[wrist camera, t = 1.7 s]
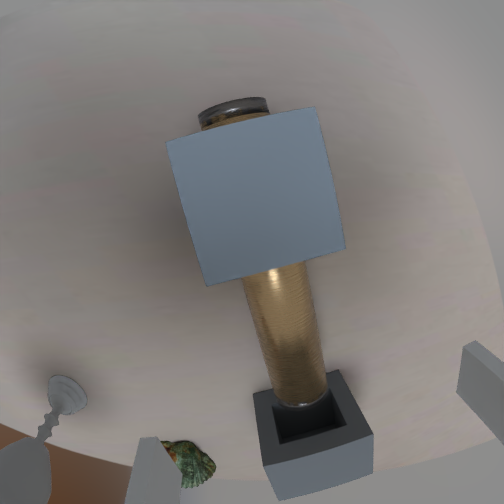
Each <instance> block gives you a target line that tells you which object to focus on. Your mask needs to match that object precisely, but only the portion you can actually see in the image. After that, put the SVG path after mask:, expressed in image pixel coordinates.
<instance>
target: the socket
mask: <svg viewBox="0 0 504 504" xmlns="http://www.w3.org/2000/svg"><path fill="white" fill-rule="evenodd" d="M326 379H327V385H328V394H327V396H326V398H325V399H324V400H323V401H322V402H321V403H320V404H319V405H317V406H315V407H313V408H311V409H308V410H304V411H290V410H286V409H284V408H282V407H281V406H280V405H279V404H278V403H277V400H276V397H275V394H274V390H273V389H271V390H267V391H263V392H258V393H254V394H253V399H254V406H255V414H256V421H257V428H258V435H259V442H260V449H261V456H262V462H263V467H264V470H265V472H266V474H267V476H268V479H269V481H270V483H271V485H272V487H273V489H274V492H275V494H276V496H277V498H278V500H279V501H281V500H285V499H290V498H294V497H298V496H302V495H306V494H310V493H314V492H317V491H321V490H324V489H328V488H331V487H334V486H338V485H340V484H343V483H347V482H350V481H352V480H356V479H358V478H361V477H364V476H367V475H369V474H372V473H373V438H374V434H373V432H372V430H371V428H370V427H369V425H368V423H367V421H366V419H365V417H364V415H363V414H362V412H361V410H360V408H359V406H358V404H357V403H356V401H355V399H354V397H353V395H352V393H351V392H350V390H349V388H348V386H347V384H346V382H345V381H344V379H343V377H342V375H341V373H340V372H339V370H336V371H333V372H330V373H327V374H326Z"/></svg>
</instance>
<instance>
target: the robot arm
mask: <svg viewBox="0 0 504 504" xmlns="http://www.w3.org/2000/svg"><path fill="white" fill-rule="evenodd" d="M456 393H457V394H458V395H459V396H460V397H461V398H462V399H463V400H464V401H465V402H466V403H467V405H468V406H469V407H470V408H471V409H472V410H473V411H474V412H475V413H476V414H477V415H478V417H479V418H480V419H481V420H482V421H483V422H484V423H485V424H486V425H487V427H488V428H489V429H490V430H491V431H492V432H493V433H494V434H495V436H496V437H497V438H498V439H499V440H500V441H501V442H502V443H503V445H504V362H502V361H501V360H500V359H499V358H497V357H496V356H495V355H494V354H492V353H491V352H490V351H489V350H487V349H486V348H485V347H483V346H482V345H481V344H480V343H478V342H477V341H476V340H475V341H473V342H471V343H469V344H467V345H465V346H463V351H462V359H461V366H460V373H459V379H458V385H457V390H456ZM181 483H182V473H181V471H180V470H179V469H178V467H177V466H176V464H175V463H174V461H173V460H172V459H171V457H170V456H169V454H168V453H167V451H166V450H165V448H164V447H163V445H162V444H161V442H160V440H159V439H158V437H147V438H140V441H139V445H138V449H137V453H136V457H135V461H134V465H133V469H132V473H131V477H130V482H129V486H128V490H127V494H126V499H125V503H124V504H180V495H181Z"/></svg>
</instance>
